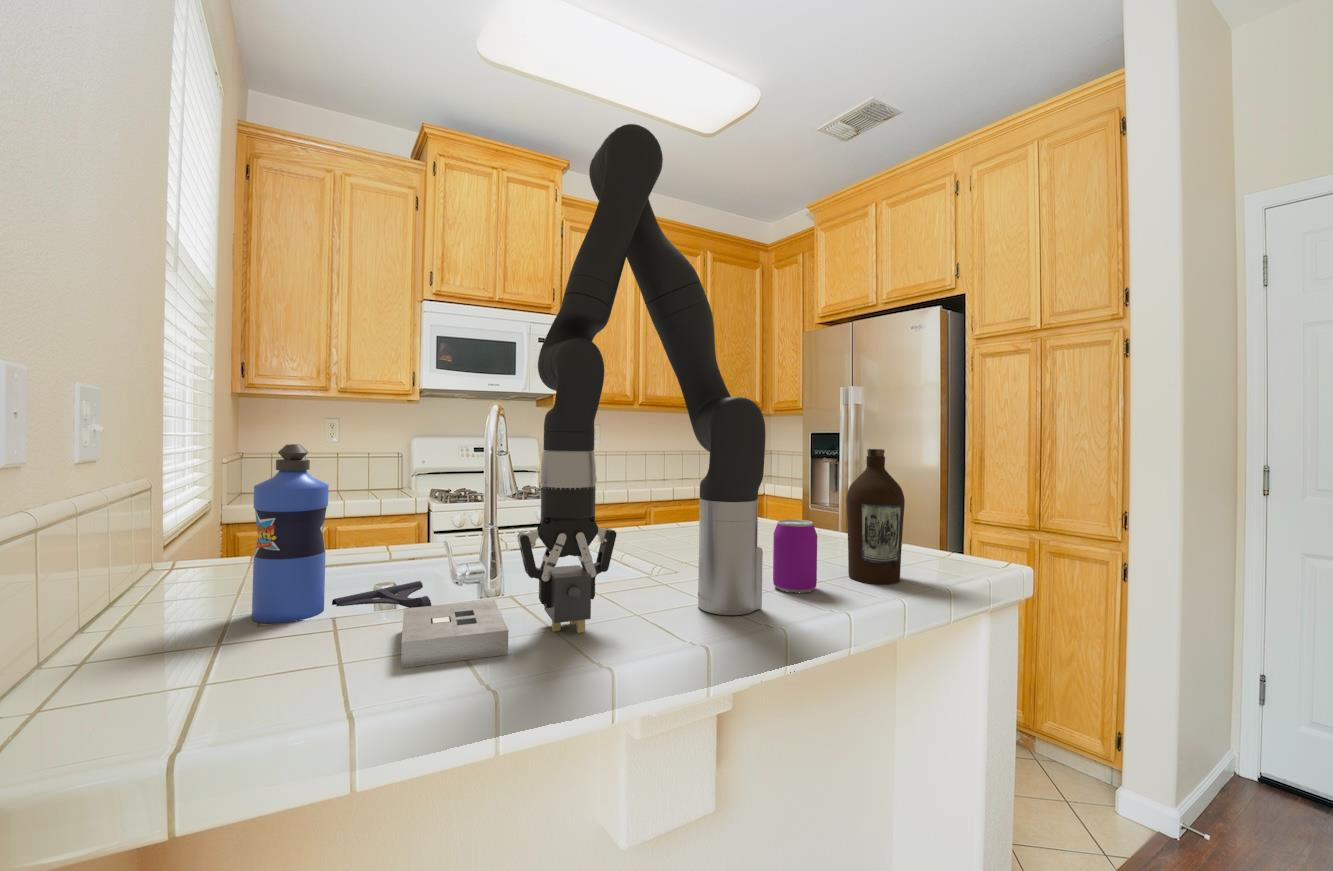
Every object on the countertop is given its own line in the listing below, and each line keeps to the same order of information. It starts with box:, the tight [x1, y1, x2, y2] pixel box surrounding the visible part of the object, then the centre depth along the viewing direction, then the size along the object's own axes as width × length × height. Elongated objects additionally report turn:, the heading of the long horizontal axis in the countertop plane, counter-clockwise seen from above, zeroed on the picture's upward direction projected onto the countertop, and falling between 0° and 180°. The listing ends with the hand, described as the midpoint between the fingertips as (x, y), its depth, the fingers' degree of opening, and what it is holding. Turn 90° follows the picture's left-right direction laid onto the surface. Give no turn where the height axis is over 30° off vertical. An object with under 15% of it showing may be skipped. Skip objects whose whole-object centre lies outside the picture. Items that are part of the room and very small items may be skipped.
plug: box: [543, 564, 592, 633], centre depth 82 cm, size 5×8×8 cm, turn 23°
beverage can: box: [772, 518, 818, 594], centre depth 106 cm, size 8×8×12 cm
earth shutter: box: [432, 617, 450, 624], centre depth 76 cm, size 2×2×1 cm
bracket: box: [331, 580, 433, 608], centre depth 94 cm, size 14×15×3 cm
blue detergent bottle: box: [251, 443, 329, 624], centre depth 88 cm, size 9×9×25 cm
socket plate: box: [400, 599, 509, 669], centre depth 77 cm, size 12×14×3 cm
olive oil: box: [845, 448, 906, 585], centre depth 114 cm, size 11×11×25 cm
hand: (566, 604), depth 83 cm, fingers closed on plug, 5 cm apart
